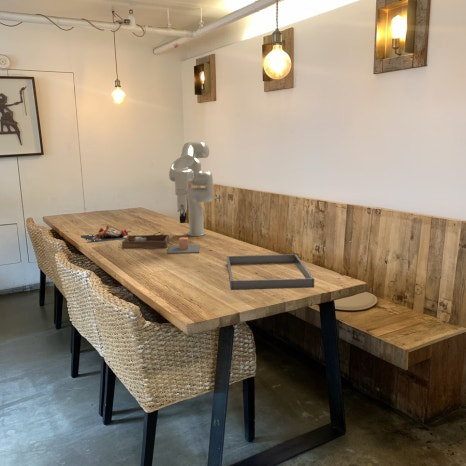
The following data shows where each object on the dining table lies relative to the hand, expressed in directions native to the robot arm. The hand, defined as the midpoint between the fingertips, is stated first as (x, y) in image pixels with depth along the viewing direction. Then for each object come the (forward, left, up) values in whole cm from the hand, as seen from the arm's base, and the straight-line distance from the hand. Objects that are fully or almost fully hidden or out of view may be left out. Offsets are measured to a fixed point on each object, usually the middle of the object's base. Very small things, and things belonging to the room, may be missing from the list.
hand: (183, 221), depth 269 cm
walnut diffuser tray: (-15, -24, -17) cm, 33 cm away
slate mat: (+1, 0, -17) cm, 17 cm away
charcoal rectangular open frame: (+56, +42, -17) cm, 72 cm away
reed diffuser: (-18, -22, -17) cm, 33 cm away
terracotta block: (0, 0, -16) cm, 16 cm away
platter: (-43, -53, -18) cm, 70 cm away
